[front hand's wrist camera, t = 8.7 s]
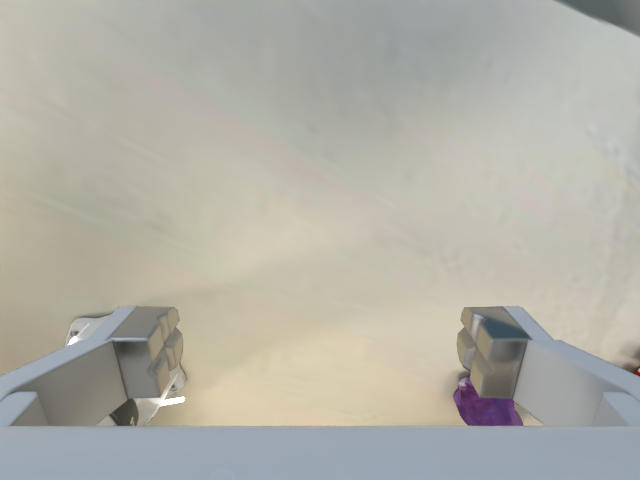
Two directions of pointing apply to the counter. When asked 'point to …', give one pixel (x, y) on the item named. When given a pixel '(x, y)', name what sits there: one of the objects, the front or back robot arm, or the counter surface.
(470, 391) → the figurine
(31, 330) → the counter surface
